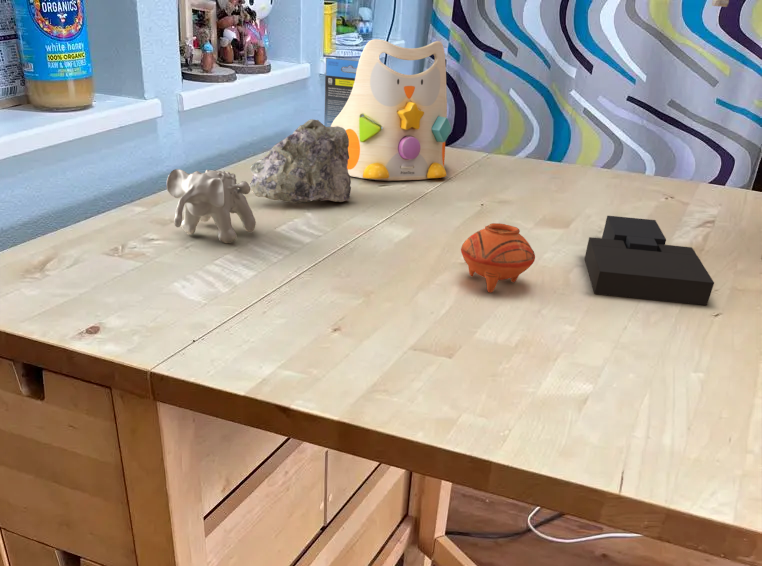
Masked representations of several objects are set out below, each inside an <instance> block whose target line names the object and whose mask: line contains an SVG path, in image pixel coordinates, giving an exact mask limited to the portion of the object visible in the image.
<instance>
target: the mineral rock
mask: <svg viewBox="0 0 762 566" xmlns="http://www.w3.org/2000/svg"><path fill="white" fill-rule="evenodd" d="M348 146H349V138H348V135H347V133H346V131H345V129H344V128H342V127H339V126H336V127H326V126H324V123H322V122H321V121H320V120H319V119H313V118H312V119H308V120H307V121H305V122H304V123H303V124H300V125H299V126H298V127H297V128H296V129H295V130H294V131H293V132H292V134H290V135H288V136H287V137H285V138H283V139H282V140H280V141H279V142H277V143H276V144H274V145H273V146H272V147H271V149H270V150H269V151H268V152H267V153H266V154H265V155H264V157H263V158H260V159H258V160H257V161H255V162H254V163H252V164H251V165H250V172H251V173H252V177H251V178H252V179H251V182H250V183H249V186H250V191H251V192H252V194H253V195H254V196H256V197H258V198H266V199H269V200H274V201H281V202H286V203H295V204H304V203H307V202H312V201H331V202H333V203H335V202H337V203H343V202H348V201H349V200H350V198H351V192H352V187H351V184H352V181H351V176H350V175H349V174H348V169H347V166H348V159H349V152H348Z"/></svg>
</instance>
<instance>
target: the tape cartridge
mask: <svg viewBox="0 0 762 566" xmlns="http://www.w3.org/2000/svg"><path fill="white" fill-rule="evenodd" d="M358 63H359V60H355V59H344V58H333V57H325V76H324V82H325V83H324V120H323V121H324V123H323V125H324V126H326V127H331V125H332V123H333V121H334V120H335V118H336V117H337V116H338V115H339V113H340V112H341V111H342V109H343V108H344V106H345V104H346V103H347V101H348V99H349V96H350V94H351V91H352V89H353V85H354V82H355V77H356V72H355V71H354V72H352V71H343V69H344V68H345V69H348V68H349V67H351V68H352V69H356V70H357V67H358ZM361 117H365V116H364V114H362V115H361Z"/></svg>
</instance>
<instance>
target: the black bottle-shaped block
mask: <svg viewBox="0 0 762 566" xmlns="http://www.w3.org/2000/svg"><path fill="white" fill-rule="evenodd" d="M605 219H606V220H605V223H604V228H603V232H602V236H601V238H602V239H612V240H622V241H624V244H625V246H626V248H627V249H636V250H646V251H657V248H658V244H662V245H666V242H667V237H666V236H665V235H664V233H663V231H662V229H661V228H660V226H659V224H658V222H657V220H655V219H649V218H637V217H626V216H618V215H607V216H606V218H605Z"/></svg>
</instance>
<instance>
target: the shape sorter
mask: <svg viewBox="0 0 762 566" xmlns="http://www.w3.org/2000/svg"><path fill="white" fill-rule="evenodd" d="M382 54H387V55H388V56H390V57H393V58H395V59H399V60H403V61H419V60H422V59H426V58H428V57H431V56H432V55H433V56H434V61H433V64H432V65H430V66H429V67H428V68H427V69H425V70H424V71H422V72H419V73H415V74H405V73H401V72H398V71H396V70H394V69H392V68H391V67H389V66H387V65H386V64H385V63H383V62H382V61H381V59H380V57H381V55H382ZM358 61H359V63H358V67H357V69H356V71H355V73H356V77H355V82H354V85H353V89H352V91H351V94H350V96H349V99H348V101H347V103H346V104H345V106H344V108H343V109H342V111H341V112H340V113H339V115H338V116H337V117H336V118H335V120H334V121H333V123H332V125H331V127H336V126H339V127H342V128H344V129H345V131H346V133H347V135H348V138H349V146H348V152H349V159H348V166H347V169H348V174H349V175H350V177H353V178H358V179H365V180H372V181H374V180H375V181H387V182H388V181H389V182H390V181H392V182H393V181H418V180H429V179H439V178H440V179H441V178H446V177H447V171H446V168H445V161H446V160H445V159H446V142H447V139H448V138H449V136H450V135H451V133H452V126H451V124H450V121H449V119H448V117H447V116H448V94H447V91H448V90H447V66H446V63H447V62H446V53H445V48H444V45H443V43H442V41H440V40H436V41H433V42H430V43H429V44H426V45H423V46H420V47H415V48H414V47H403V46H400V45H396V44H393V43H391V42H389V41H387V40H384V39H379V38H374V39H371V40H368V41H367V43H366V44H365V46H364V48H363V50H362V52H361V54H360V56H359V60H358ZM362 114H364V116H365V117H361V115H362Z"/></svg>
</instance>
